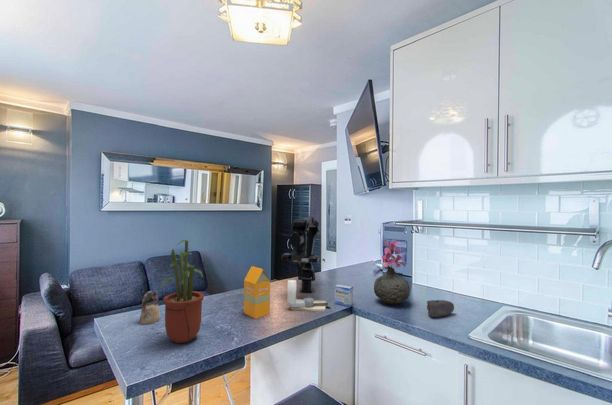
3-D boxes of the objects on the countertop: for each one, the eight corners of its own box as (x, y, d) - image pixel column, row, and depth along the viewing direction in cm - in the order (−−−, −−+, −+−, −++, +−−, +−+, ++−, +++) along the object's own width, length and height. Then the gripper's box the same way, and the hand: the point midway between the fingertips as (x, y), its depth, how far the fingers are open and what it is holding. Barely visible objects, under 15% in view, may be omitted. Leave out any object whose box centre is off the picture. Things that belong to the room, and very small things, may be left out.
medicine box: (334, 304, 140) (334, 286, 140) (337, 301, 144) (338, 283, 144) (349, 307, 136) (350, 288, 136) (353, 304, 140) (353, 286, 140)
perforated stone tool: (449, 311, 133) (449, 296, 133) (458, 316, 128) (458, 300, 128) (422, 315, 128) (422, 299, 128) (431, 319, 123) (431, 303, 123)
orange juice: (258, 308, 132) (258, 264, 132) (269, 314, 126) (270, 268, 126) (243, 313, 127) (244, 267, 127) (254, 319, 120) (255, 270, 121)
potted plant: (207, 341, 100) (209, 240, 100) (157, 354, 91) (159, 243, 91) (194, 324, 114) (196, 235, 114) (150, 333, 105) (151, 237, 105)
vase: (416, 304, 142) (417, 242, 142) (395, 312, 131) (396, 245, 131) (387, 295, 155) (387, 238, 155) (365, 301, 144) (366, 241, 144)
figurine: (146, 317, 120) (146, 288, 121) (163, 317, 120) (163, 288, 120) (135, 324, 113) (136, 293, 113) (153, 324, 113) (154, 294, 113)
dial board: (294, 301, 143) (294, 298, 143) (332, 303, 141) (332, 300, 141) (290, 309, 131) (290, 307, 131) (332, 312, 129) (332, 309, 129)
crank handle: (326, 302, 137) (327, 278, 137) (329, 306, 133) (329, 280, 133) (286, 304, 134) (287, 279, 134) (287, 308, 130) (288, 282, 130)
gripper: (277, 245, 142) (277, 276, 142) (314, 247, 137) (314, 280, 137) (285, 242, 153) (284, 271, 153) (319, 244, 148) (319, 274, 148)
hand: (300, 274), depth 148 cm, fingers closed
